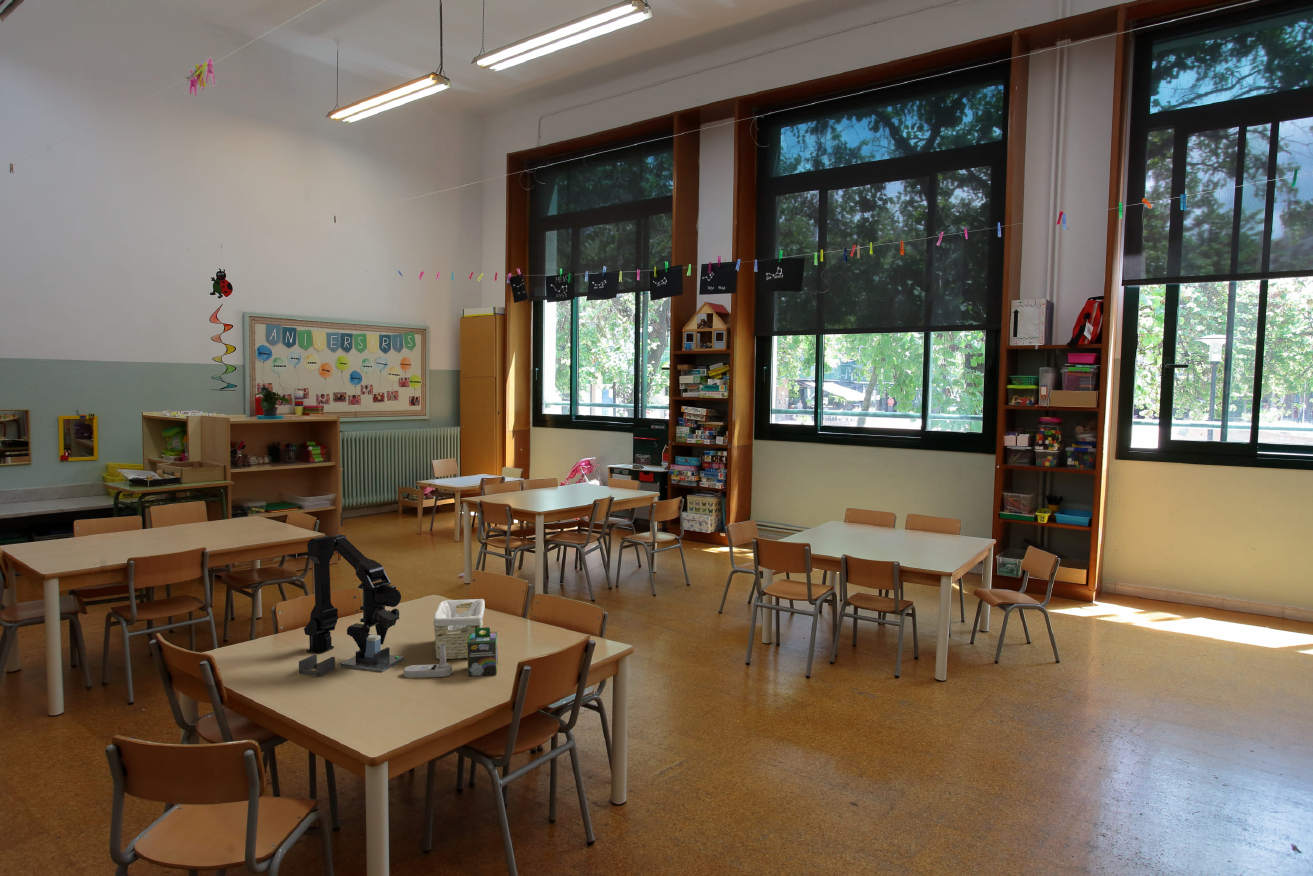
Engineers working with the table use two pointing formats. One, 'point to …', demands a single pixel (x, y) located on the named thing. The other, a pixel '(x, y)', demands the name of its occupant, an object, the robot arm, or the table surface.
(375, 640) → the plug
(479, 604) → the storage basket
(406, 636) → the table surface
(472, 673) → the chalk box
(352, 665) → the port
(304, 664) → the holster
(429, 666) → the electronic device
